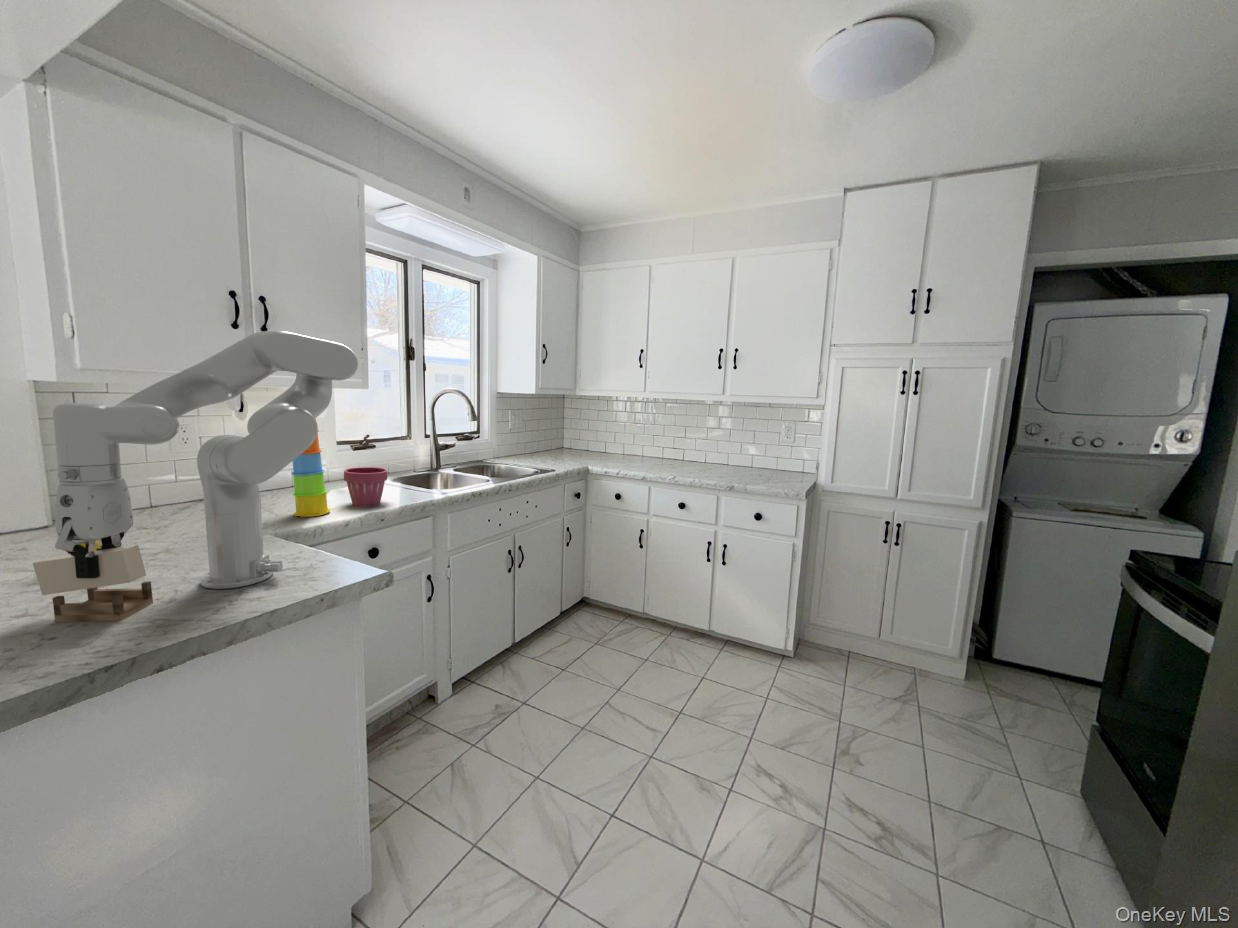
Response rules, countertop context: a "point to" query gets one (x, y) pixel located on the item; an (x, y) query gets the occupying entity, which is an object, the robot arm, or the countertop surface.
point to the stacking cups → (309, 483)
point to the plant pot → (365, 485)
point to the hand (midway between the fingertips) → (98, 572)
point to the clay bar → (113, 570)
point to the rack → (104, 604)
